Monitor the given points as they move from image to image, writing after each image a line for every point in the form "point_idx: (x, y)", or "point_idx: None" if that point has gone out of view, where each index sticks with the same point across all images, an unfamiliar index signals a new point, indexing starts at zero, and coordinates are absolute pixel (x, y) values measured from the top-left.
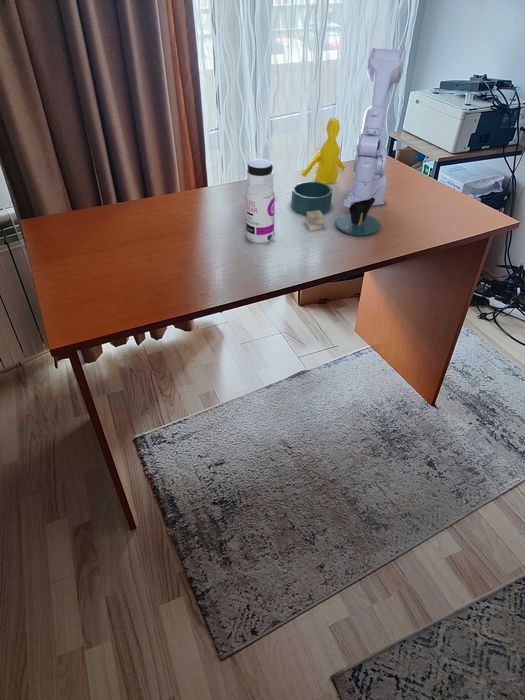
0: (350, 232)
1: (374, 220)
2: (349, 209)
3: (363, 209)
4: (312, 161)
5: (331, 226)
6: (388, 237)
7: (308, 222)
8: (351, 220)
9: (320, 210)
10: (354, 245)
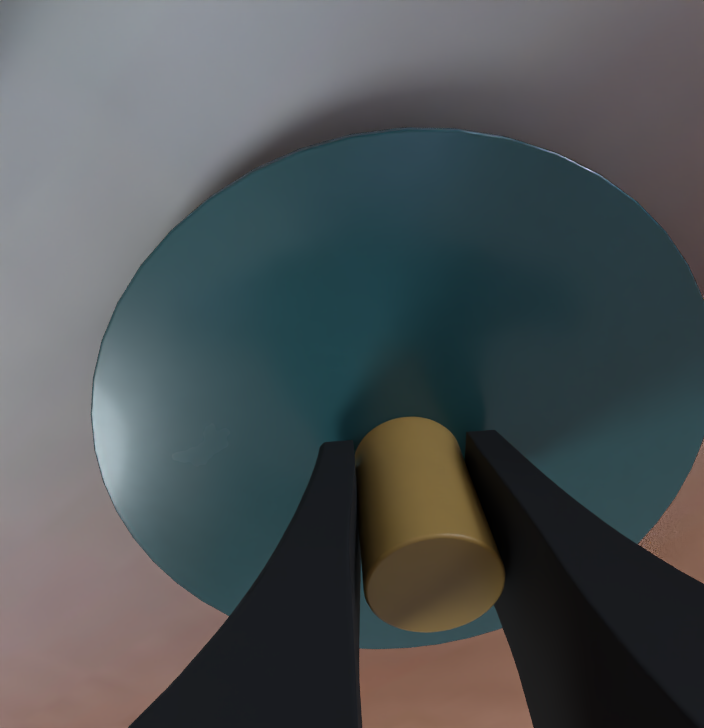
0: (152, 545)
1: (617, 524)
2: (236, 612)
3: (530, 647)
4: None
5: (101, 211)
6: (443, 685)
7: None
8: (316, 461)
9: None
10: (78, 632)
